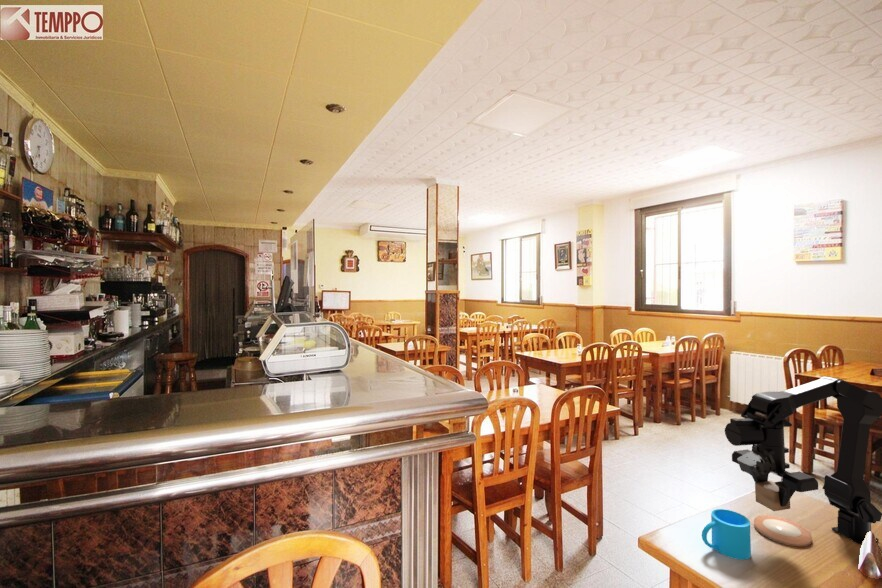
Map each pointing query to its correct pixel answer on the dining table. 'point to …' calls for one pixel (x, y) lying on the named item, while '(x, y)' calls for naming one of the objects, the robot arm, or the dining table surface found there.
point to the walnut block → (769, 495)
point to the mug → (729, 534)
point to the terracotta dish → (782, 530)
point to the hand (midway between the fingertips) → (772, 500)
